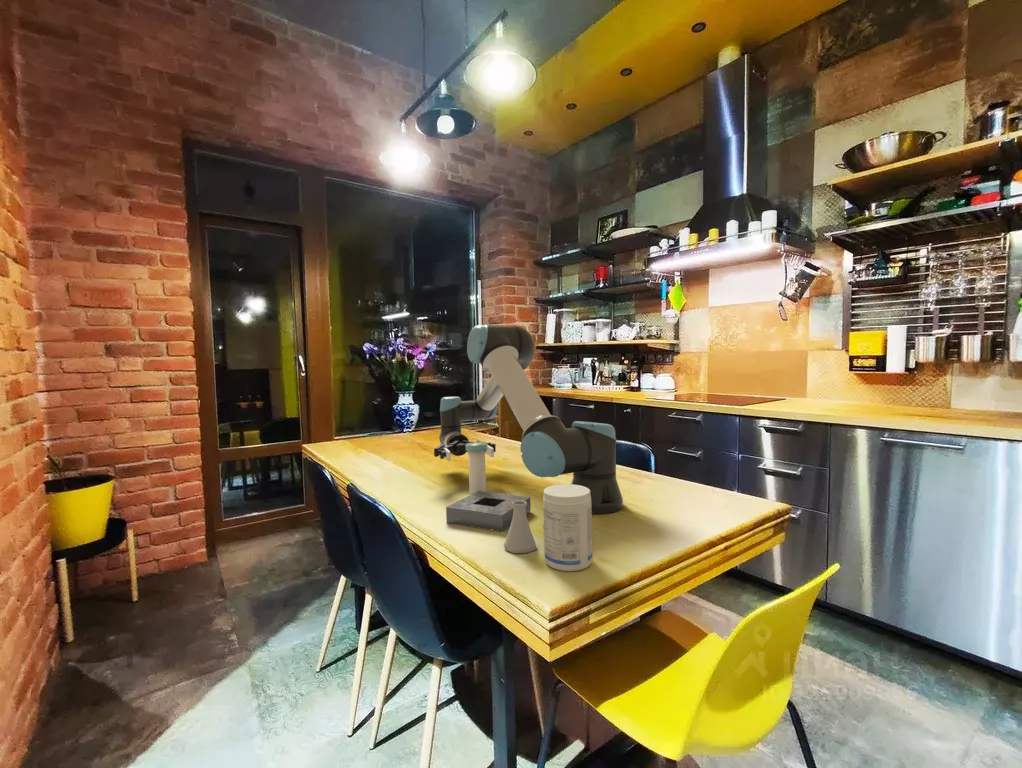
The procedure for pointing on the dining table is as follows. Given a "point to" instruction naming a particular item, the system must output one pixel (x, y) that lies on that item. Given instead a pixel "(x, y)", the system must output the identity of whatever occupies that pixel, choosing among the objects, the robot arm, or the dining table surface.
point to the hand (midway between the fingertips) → (471, 454)
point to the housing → (485, 510)
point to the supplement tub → (567, 527)
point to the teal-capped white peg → (476, 466)
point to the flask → (519, 531)
